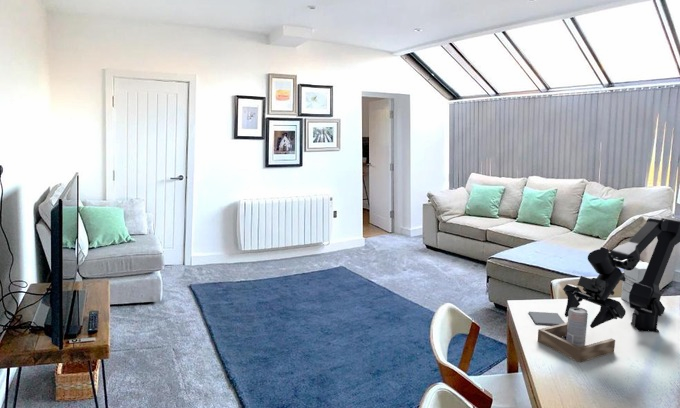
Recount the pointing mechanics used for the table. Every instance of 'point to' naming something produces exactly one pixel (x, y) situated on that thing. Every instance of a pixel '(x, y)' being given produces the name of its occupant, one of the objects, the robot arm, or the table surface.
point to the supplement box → (632, 279)
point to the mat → (546, 318)
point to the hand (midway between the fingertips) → (578, 321)
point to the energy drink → (577, 326)
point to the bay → (579, 354)
